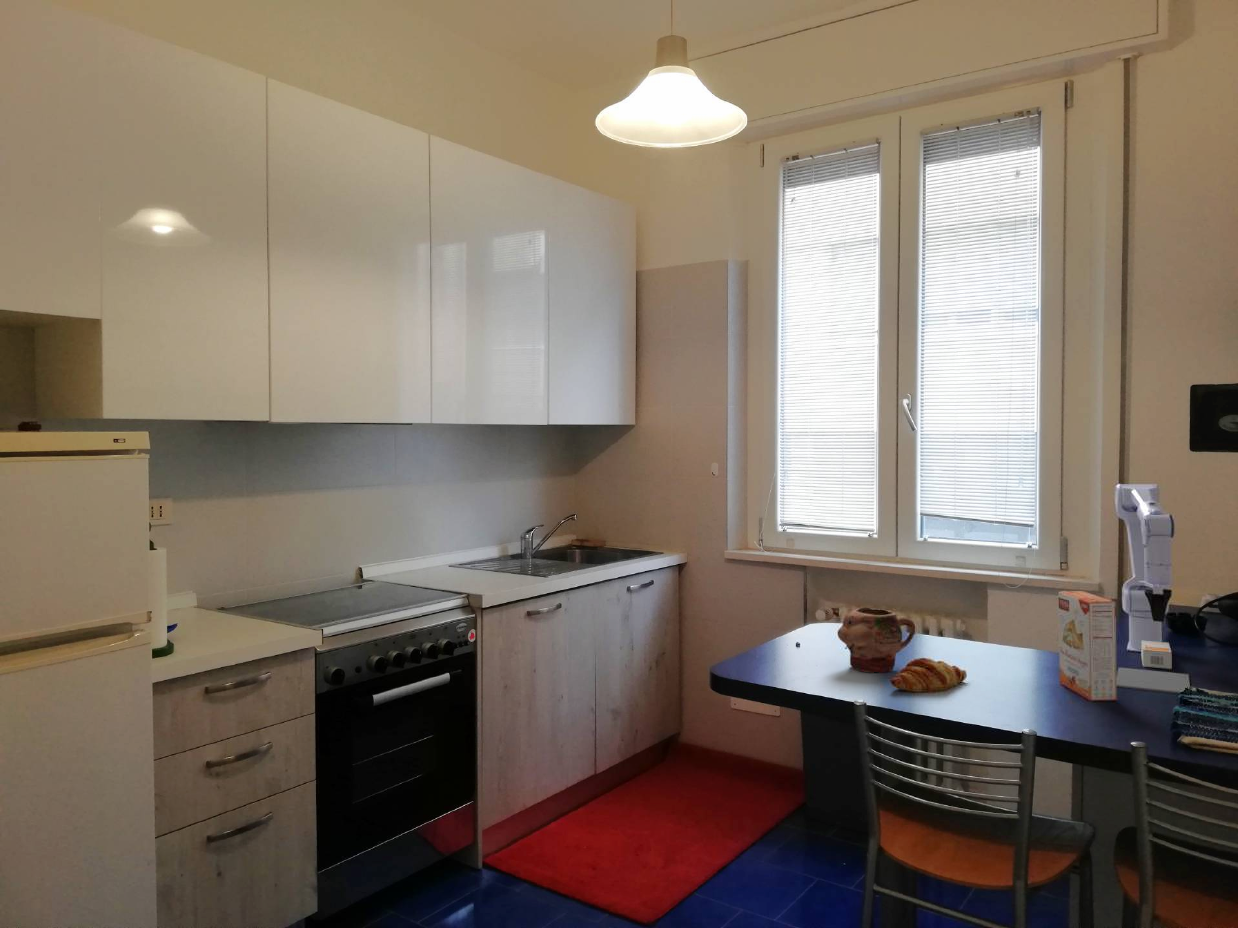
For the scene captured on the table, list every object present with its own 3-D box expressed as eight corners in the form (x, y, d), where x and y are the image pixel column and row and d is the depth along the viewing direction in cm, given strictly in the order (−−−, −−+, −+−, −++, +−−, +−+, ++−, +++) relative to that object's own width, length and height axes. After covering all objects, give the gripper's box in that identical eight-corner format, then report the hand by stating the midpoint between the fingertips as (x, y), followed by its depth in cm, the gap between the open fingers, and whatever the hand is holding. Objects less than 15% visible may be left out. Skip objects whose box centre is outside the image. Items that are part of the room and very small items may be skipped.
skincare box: (1142, 648, 216) (1140, 639, 226) (1142, 666, 216) (1140, 656, 226) (1172, 651, 213) (1169, 641, 223) (1172, 669, 213) (1169, 659, 224)
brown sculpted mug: (898, 658, 227) (897, 603, 227) (928, 670, 216) (928, 611, 216) (827, 665, 221) (827, 609, 221) (855, 677, 210) (854, 617, 209)
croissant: (955, 693, 208) (943, 659, 211) (986, 681, 200) (973, 646, 203) (884, 704, 199) (872, 668, 202) (914, 692, 190) (901, 655, 194)
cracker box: (1057, 684, 201) (1057, 590, 201) (1085, 683, 201) (1084, 590, 201) (1088, 701, 187) (1087, 600, 187) (1117, 701, 187) (1117, 600, 187)
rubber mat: (1118, 669, 214) (1118, 667, 214) (1188, 675, 207) (1188, 674, 207) (1114, 686, 199) (1115, 684, 199) (1190, 694, 191) (1190, 692, 191)
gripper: (1139, 560, 228) (1140, 614, 228) (1138, 566, 215) (1138, 623, 215) (1172, 561, 224) (1173, 616, 224) (1172, 567, 211) (1173, 625, 211)
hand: (1158, 620), depth 219 cm, fingers open, 3 cm apart
